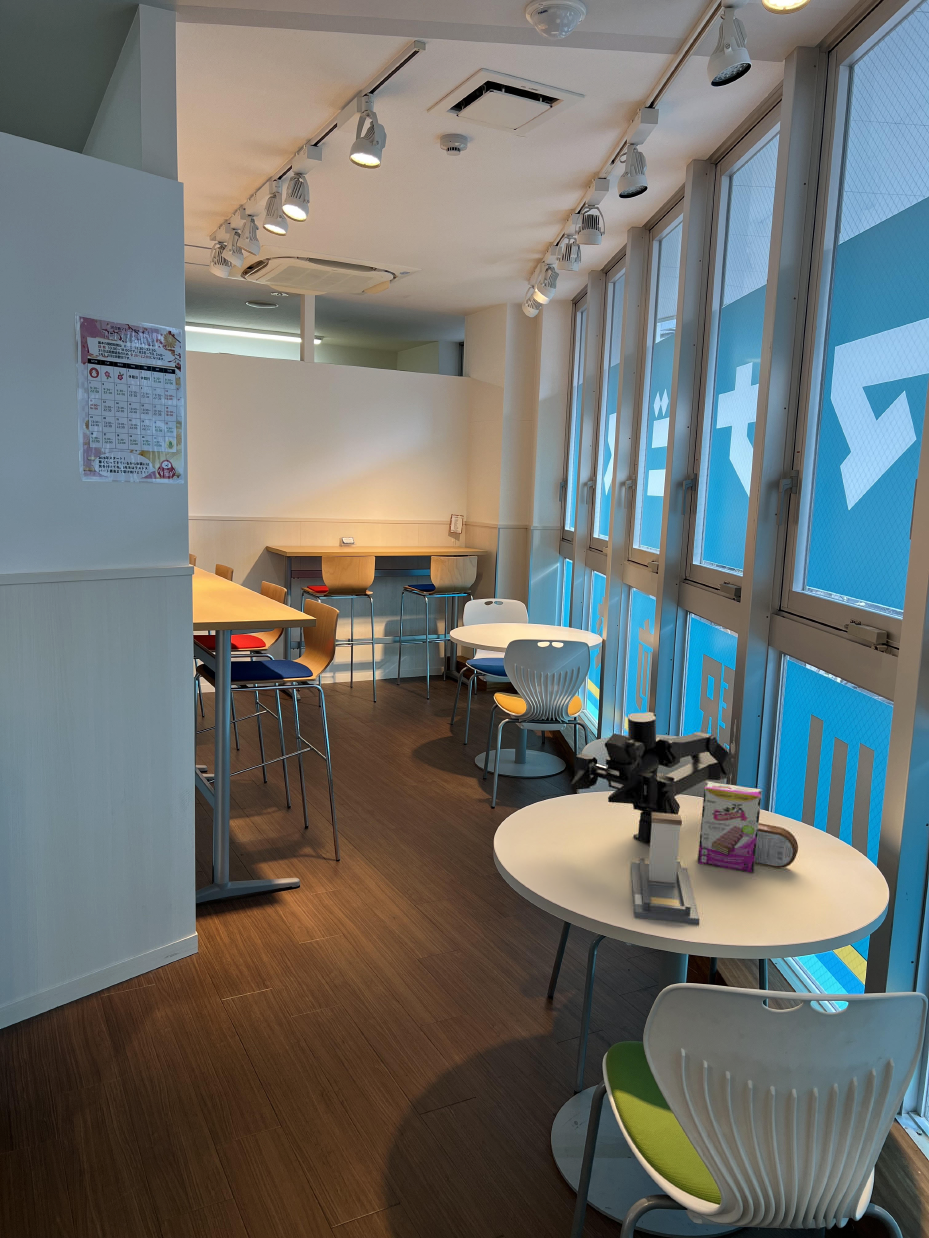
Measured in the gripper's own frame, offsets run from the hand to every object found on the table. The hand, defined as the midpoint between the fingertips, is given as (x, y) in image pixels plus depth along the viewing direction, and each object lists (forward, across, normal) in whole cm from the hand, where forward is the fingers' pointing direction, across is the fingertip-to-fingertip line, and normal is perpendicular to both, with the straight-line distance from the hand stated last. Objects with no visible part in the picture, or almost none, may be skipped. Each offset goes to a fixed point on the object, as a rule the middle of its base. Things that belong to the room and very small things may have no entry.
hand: (589, 793), depth 167 cm
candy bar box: (-22, +17, +20) cm, 34 cm away
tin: (-28, +21, +21) cm, 40 cm away
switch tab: (-3, +14, +15) cm, 21 cm away
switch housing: (0, +16, +16) cm, 23 cm away
